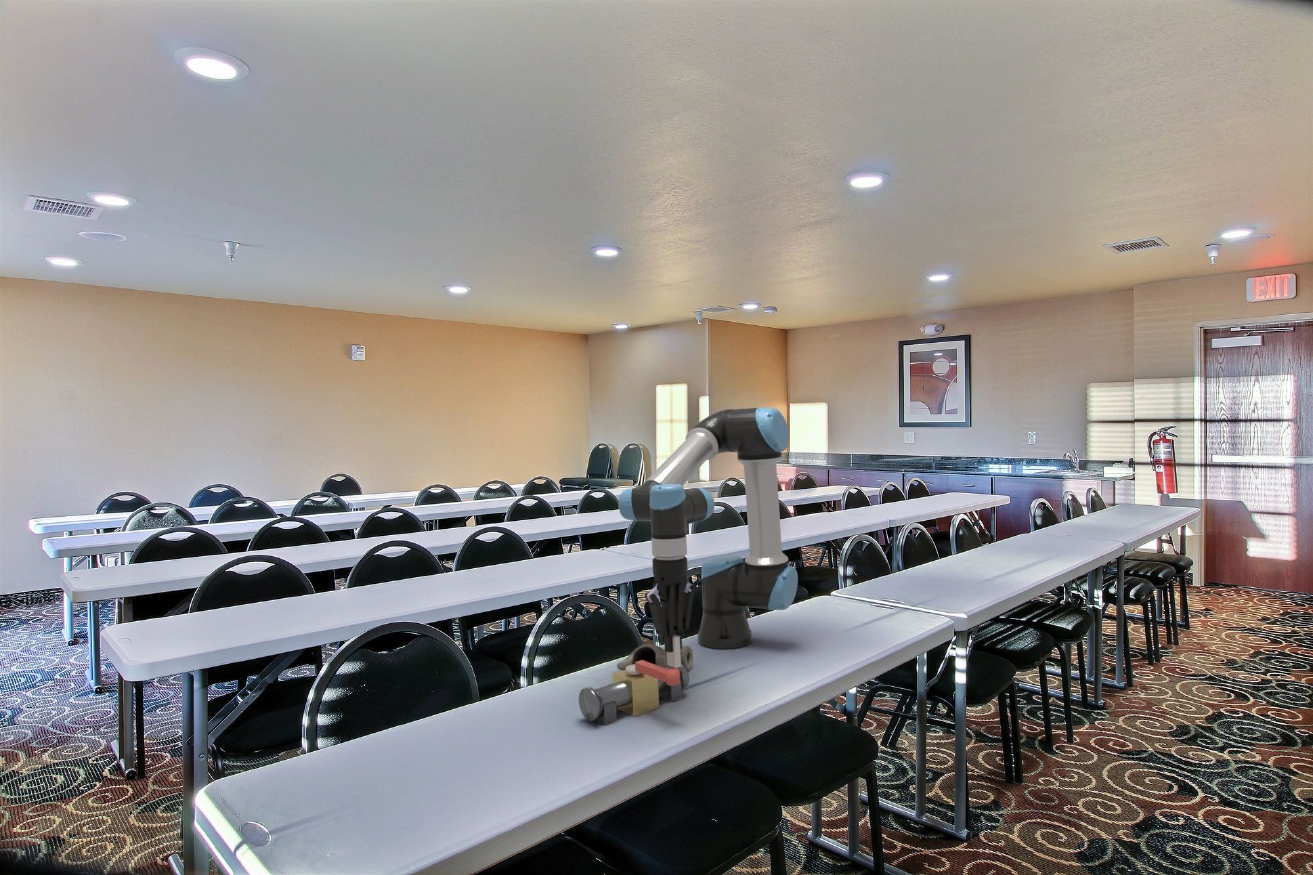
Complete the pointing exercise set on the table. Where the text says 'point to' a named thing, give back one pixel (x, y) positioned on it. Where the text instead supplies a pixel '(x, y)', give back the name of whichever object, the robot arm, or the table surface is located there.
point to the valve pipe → (629, 695)
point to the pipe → (655, 656)
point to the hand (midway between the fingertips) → (674, 665)
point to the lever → (655, 672)
